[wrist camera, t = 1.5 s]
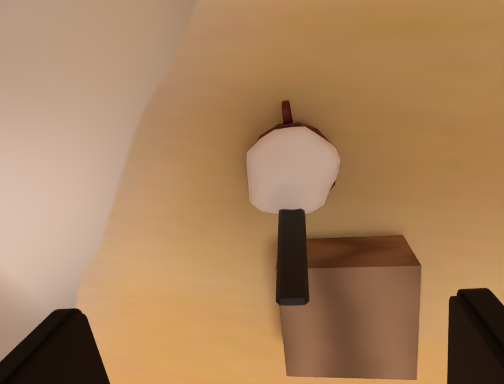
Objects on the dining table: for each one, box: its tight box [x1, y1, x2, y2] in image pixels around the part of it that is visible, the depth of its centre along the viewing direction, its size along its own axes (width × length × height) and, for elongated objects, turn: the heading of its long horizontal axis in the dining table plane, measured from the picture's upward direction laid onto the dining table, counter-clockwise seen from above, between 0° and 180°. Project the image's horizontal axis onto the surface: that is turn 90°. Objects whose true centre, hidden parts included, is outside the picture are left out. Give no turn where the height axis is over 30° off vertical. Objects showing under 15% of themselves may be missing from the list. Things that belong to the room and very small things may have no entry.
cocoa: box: [246, 101, 341, 306], centre depth 22 cm, size 10×6×12 cm, turn 164°
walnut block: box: [276, 236, 421, 380], centre depth 29 cm, size 10×10×5 cm
